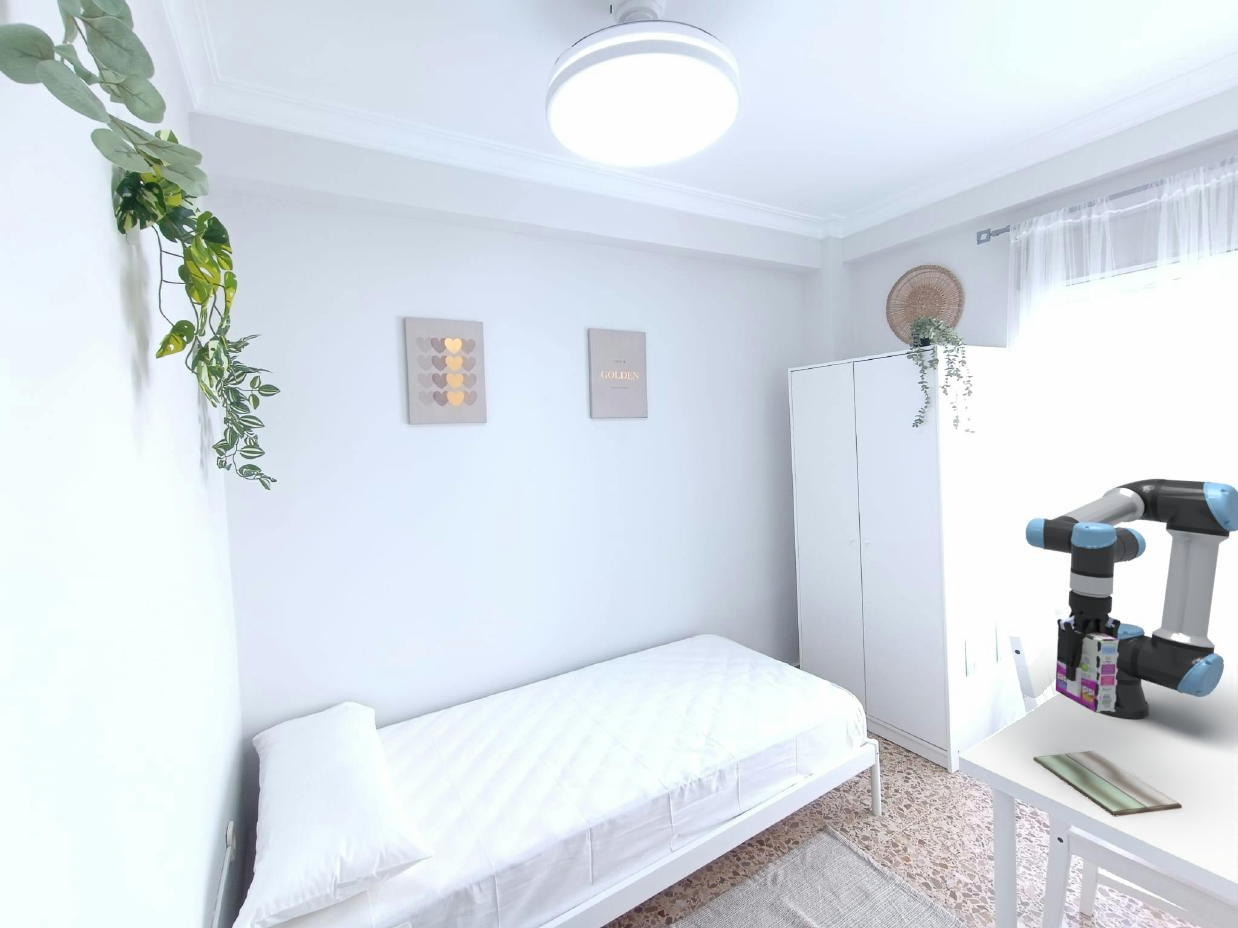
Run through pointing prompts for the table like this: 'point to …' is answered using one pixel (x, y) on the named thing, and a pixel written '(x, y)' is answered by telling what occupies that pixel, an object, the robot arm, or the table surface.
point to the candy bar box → (1094, 673)
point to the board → (1106, 783)
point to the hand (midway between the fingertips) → (1084, 692)
